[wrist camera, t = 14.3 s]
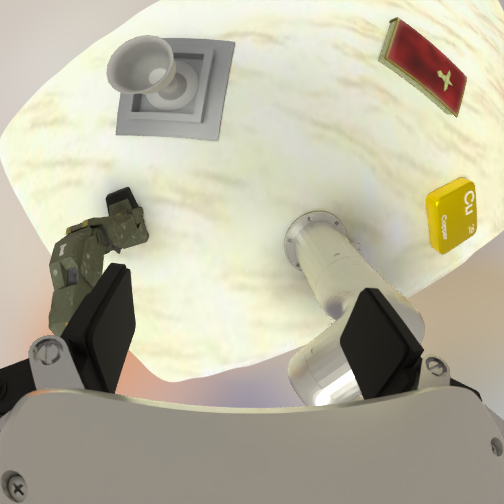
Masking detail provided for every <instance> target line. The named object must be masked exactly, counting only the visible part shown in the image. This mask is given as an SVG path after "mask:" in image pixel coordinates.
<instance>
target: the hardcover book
mask: <svg viewBox="0 0 504 504" xmlns="http://www.w3.org/2000/svg"><path fill="white" fill-rule="evenodd" d="M390 23H391V24H390V27H389V31H388V34H387V37H386V40H385V43H384V45H383V48H382V51H381V54H380V57H379V60H378V61H379V62H381V63H382V64H384V65H385V66H387V67H388V68H390V69H391V70H393V71H394V72H395V73H397V74H398V75H400V76H401V77H402V78H404V79H405V80H406V81H408V82H409V83H410V84H412V85H413V86H414V87H416V88H417V89H418V90H419V91H421V92H422V93H423V94H424V95H426V96H427V97H428V98H429V99H430V100H431V101H433V102H434V103H435V104H436V105H437V106H438V107H440V108H441V109H442V110H443V111H444V112H445V113H446V114H453V115H454V116H456V117H458V113H459V110H460V106H461V102H462V98H463V94H464V90H465V86H466V81H467V77H466V76H465V75H464V74H463V73H462V72H461V71H460V70H459V69H458V68H457V67H456V66H455V65H454V64H453V63H452V62H451V61H450V60H449V59H448V58H447V57H446V56H445V55H444V54H443V53H442V52H441V51H440V50H438V49H437V48H436V47H435V46H434V45H433V44H432V43H430V42H429V41H428V40H427V39H426V38H424V37H423V36H422V35H421V34H419V33H418V32H417V31H416V30H414V29H413V28H412V27H410V26H409V25H408V24H406V23H405V22H404V21H402V20H401V19H399V18H398V17H397V18H394V19H392V20H391V21H390Z"/></svg>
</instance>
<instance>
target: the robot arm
mask: <svg viewBox="0 0 504 504" xmlns="http://www.w3.org/2000/svg"><path fill="white" fill-rule="evenodd" d="M308 217H310V218H309V219H308ZM289 239H290V240H289ZM284 247H285V252H286V255H287V258H288V259H289V261H290V262H291V264H292V265H293V266H294V267H295V268H297V269H299V270H301V271H303V272H304V274H305V276H306V278H307V280H308V283H309V285H310V287H311V289H312V291H313V293H314V295H315V297H316V299H317V301H318V303H319V305H320V307H321V309H322V310H323V311H324V312H325V313H326V314H327V315H328V316H330V317H331V318H333V319H335V320H336V321H335V322H334V323H332V324H331V326H330V327H328V328H327V329H326V330H325V331H324V332H322V333H321V334H320V335H319V336H317V337H316V338H315V339H313V340H312V341H311V342H310V343H308V344H307V345H306V346H305V347H303V348H302V349H301V350H300V351H298V352H297V353H296V354H295V355H294V356H293V358H292V359H291V360H290V363H289V365H288V377H289V380H290V383H291V385H292V387H293V389H294V391H295V392H296V394H297V395H298V397H299V398H300V399H301V400H302V402H303V403H304V404H305V405H306V406H305V407H288V408H227V407H209V406H197V405H186V404H177V403H169V402H161V401H153V400H147V399H140V398H134V397H129V396H123V395H118V394H115V390H116V387H117V384H118V380H119V377H120V374H121V371H122V368H123V364H124V361H125V358H126V355H127V352H128V349H129V346H130V343H131V341H132V338H133V335H134V332H135V327H136V322H135V314H134V305H133V295H132V284H131V272H130V269H127V268H126V265H125V264H117V263H111V264H110V265H109V266H108V267H107V269H106V270H105V272H104V273H103V275H102V276H101V277H100V279H99V280H98V282H97V283H96V285H95V286H94V288H93V289H92V291H91V292H90V293H88V294H87V295H86V296H85V297H84V299H83V300H82V302H81V303H80V305H79V306H78V308H77V310H76V311H75V313H74V314H73V316H72V317H71V319H70V321H69V322H68V324H67V326H66V327H65V329H64V331H63V332H62V334H61V336H60V337H58V336H55V335H47V336H43V337H41V338H38V339H37V340H36V341H34V342H33V344H32V345H31V346H30V349H29V358H28V359H26V360H23V361H20V362H18V363H15V364H12V365H10V366H7V367H4V368H2V369H0V504H504V420H502V419H501V418H500V417H499V416H498V415H496V414H495V413H494V412H493V411H492V410H490V409H489V408H488V407H487V406H486V405H484V404H483V403H482V399H481V397H480V394H479V392H477V391H476V390H474V389H472V388H470V387H468V386H466V385H464V384H462V383H460V382H458V381H456V380H454V379H452V377H451V376H450V369H449V367H448V365H447V363H446V362H445V361H444V360H443V359H442V358H440V357H438V356H436V355H432V354H429V355H426V356H424V357H423V359H422V358H421V357H420V356H421V354H422V353H423V351H424V349H423V348H422V346H421V345H420V344H421V342H422V340H423V337H424V333H425V325H424V321H423V318H422V316H421V314H420V312H419V311H418V310H417V308H416V307H415V306H414V305H413V304H412V303H411V302H410V301H409V300H408V299H407V298H406V297H405V296H403V295H402V294H401V293H399V292H398V291H397V290H395V289H394V288H393V287H392V286H390V285H389V284H388V283H387V282H386V281H385V280H384V279H383V278H382V277H381V276H380V275H379V274H378V273H377V272H376V271H375V270H374V269H373V268H372V267H371V266H370V265H369V263H368V262H367V261H366V260H365V259H364V258H363V257H362V256H361V254H359V252H358V251H357V250H359V249H360V244H358V243H351V242H350V241H349V240H348V239H347V234H346V230H345V228H344V226H343V224H342V223H341V222H340V220H338V219H337V218H336V217H335V216H333V215H332V214H329V213H326V212H312V213H308V214H306V215H303V216H302V217H300V218H299V219H297V220H296V221H295V222H294V223H293V224H292V225H291V227H290V228H289V230H288V232H287V234H286V237H285V244H284ZM361 394H362V396H363V398H360V397H358V396H359V395H361Z"/></svg>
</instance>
